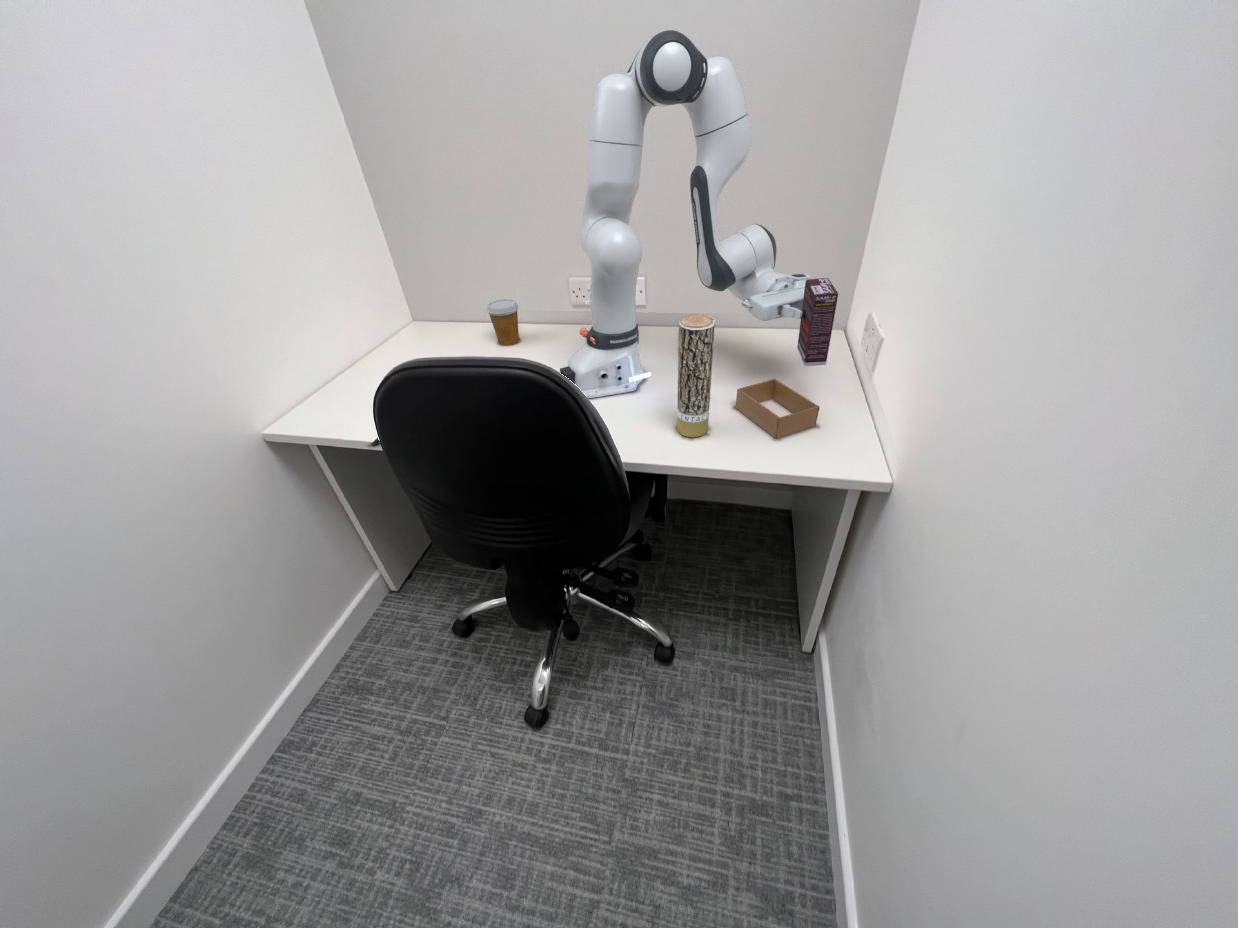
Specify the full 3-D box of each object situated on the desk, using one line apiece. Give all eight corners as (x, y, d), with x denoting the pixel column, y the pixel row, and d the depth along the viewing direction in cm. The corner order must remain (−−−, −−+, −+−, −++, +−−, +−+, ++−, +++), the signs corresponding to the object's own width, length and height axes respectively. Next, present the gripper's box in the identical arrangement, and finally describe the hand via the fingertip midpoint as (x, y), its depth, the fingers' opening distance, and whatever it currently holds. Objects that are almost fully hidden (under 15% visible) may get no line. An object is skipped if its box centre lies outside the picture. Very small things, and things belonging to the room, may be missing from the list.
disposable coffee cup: (530, 338, 157) (523, 301, 150) (509, 349, 151) (502, 311, 144) (508, 333, 162) (501, 297, 154) (487, 344, 155) (478, 306, 148)
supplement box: (827, 365, 106) (839, 293, 96) (804, 366, 107) (813, 295, 97) (818, 346, 113) (828, 276, 103) (796, 348, 113) (804, 279, 103)
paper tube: (674, 423, 112) (676, 316, 97) (704, 420, 112) (710, 313, 98) (679, 440, 107) (682, 328, 92) (710, 437, 107) (718, 325, 92)
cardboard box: (776, 439, 105) (779, 419, 102) (735, 407, 116) (737, 389, 113) (815, 426, 108) (819, 406, 105) (771, 397, 119) (774, 378, 116)
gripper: (738, 288, 110) (778, 306, 100) (812, 272, 116) (856, 288, 106) (736, 316, 114) (774, 336, 104) (807, 299, 120) (850, 317, 110)
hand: (816, 312), depth 105 cm, fingers closed on supplement box, 6 cm apart
